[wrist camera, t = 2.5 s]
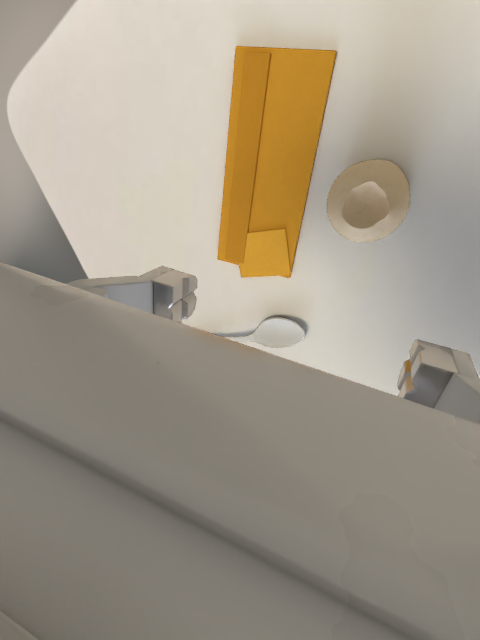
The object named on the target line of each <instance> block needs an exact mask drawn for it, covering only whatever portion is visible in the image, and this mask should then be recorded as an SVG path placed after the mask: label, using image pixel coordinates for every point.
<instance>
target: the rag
mask: <svg viewBox="0 0 480 640" xmlns="http://www.w3.org/2000/svg"><path fill="white" fill-rule="evenodd" d="M336 53H337V52H336V51H333V50H311V49H289V48H267V47H245V46H236V51H235V62H234V74H233V85H232V97H231V108H230V120H229V132H228V143H227V155H226V166H225V178H224V189H223V201H222V213H221V224H220V236H219V247H218V260H222V261H226V262H230V263H233V264H237V265H239V268H240V273H241V277H258V276H277V275H279V276H283V277H287V278H290V276H291V272H292V267H293V262H294V257H295V252H296V247H297V242H298V238H299V233H300V228H301V223H302V218H303V213H304V208H305V204H306V199H307V194H308V189H309V184H310V179H311V175H312V170H313V165H314V160H315V155H316V150H317V145H318V141H319V136H320V131H321V126H322V121H323V116H324V111H325V107H326V102H327V97H328V92H329V87H330V82H331V77H332V73H333V68H334V63H335V58H336Z"/></svg>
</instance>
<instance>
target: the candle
mask: <svg viewBox="0 0 480 640" xmlns="http://www.w3.org/2000/svg"><path fill="white" fill-rule="evenodd" d="M409 204H410V189H409V185H408V182H407V180H406V177H405V175H404V173H403V171H402V170H401V169H400V168H399V167H398V166H397V165H396V164H394V163H392V162H390V161H387V160H382V159H374V160H367V161H362V162H359V163H356V164H354V165H352V166H350V167H349V168H347V169H346V170H345V171H343V172H342V173H341V174H340V175H339V176H338V177H337V179H336V180H335V181H334V183H333V185H332V187H331V189H330V191H329V194H328V199H327V213H328V217H329V220H330V222H331V224H332V226H333V227H334V229H335V230H336V231H337V232H338V233H339V234H340V235H341V236H343V237H345V238H347V239H349V240H352V241H355V242H372V241H376V240H379V239H382V238H384V237H386V236H387V235H389V234H390V233H392V232H393V231H394V230H395V229H396V228H397V227H398V226H399V225H400V224H401V222H402V221H403V219H404V218H405V216H406V214H407V211H408V208H409Z"/></svg>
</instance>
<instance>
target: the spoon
mask: <svg viewBox="0 0 480 640" xmlns="http://www.w3.org/2000/svg"><path fill="white" fill-rule="evenodd" d="M304 337H305V330H304V329H303V328H302V327H301V326H300V325H299V324H298V323H296V322H294V321H292V320H289V319H285V318H280V317H275V318H269V319H266V320H264V321H263V322H262V323H261V324H260V325H259V326H258V327H257V329H256V330H255V332H254V333H253V334H251V335H248V336H239V337H223V338H226V339H229V340H232V341H235V342H255V343H258V344H261V345H264V346H266V347H270V348H284V347H289V346H293V345H296V344H298V343H300V342H301V341H302V340H303V339H304Z"/></svg>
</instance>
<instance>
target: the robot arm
mask: <svg viewBox="0 0 480 640" xmlns="http://www.w3.org/2000/svg"><path fill="white" fill-rule="evenodd" d="M196 288H197V278H196V276H193V275H190V274H187V273H183V272H180V271H177V270H174V269H172V268H168V267H164V266H161V267H158V268H156V269H154V270H152V271H150V272H148V273H145V274H143V275H141V276H139V277H138V276H125V277H110V278H96V279H81V280H75V281H72V282H70V283H67V284H64V283H60V282H57V281H55V280H52V279H49V278H46V277H43V276H40V275H37V274H34V273H31V272H28V271H25V270H22V269H19V268H16V267H13V266H10V265H7V264H5V263H1V262H0V640H480V381H479V378H478V376H477V373H476V371H475V368H474V366H473V363H472V361H471V358H470V355H469V354H468V353H465V352H461V351H457V350H453V349H451V348H448V347H444V346H440V345H436V344H433V343H429V342H425V341H421V340H415V341H414V343H413V344H412V347H411V349H410V351H409V352H410V359H409V360H407V361H405V362H404V364H403V366H402V369H401V371H400V375H399V378H398V389H399V390H400V393H399V395H398V396H395V395H392V394H389V393H386V392H383V391H380V390H377V389H374V388H371V387H368V386H365V385H362V384H359V383H356V382H353V381H350V380H347V379H344V378H342V377H339V376H336V375H333V374H330V373H327V372H324V371H321V370H318V369H315V368H312V367H309V366H306V365H303V364H300V363H297V362H294V361H291V360H288V359H285V358H282V357H279V356H276V355H274V354H271V353H268V352H265V351H262V350H259V349H256V348H253V347H250V346H247V345H244V344H241V343H238V342H235V341H232V340H229V339H226V338H223V337H220V336H217V335H214V334H211V333H209V332H206V331H203V330H200V329H197V328H194V327H191V326H188V325H185V324H182V323H181V321H182V319H186V318H188V317H190V316H191V315H192V313H193V311H194V309H195V306H196V296H195V294H194V291H195V289H196Z"/></svg>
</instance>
